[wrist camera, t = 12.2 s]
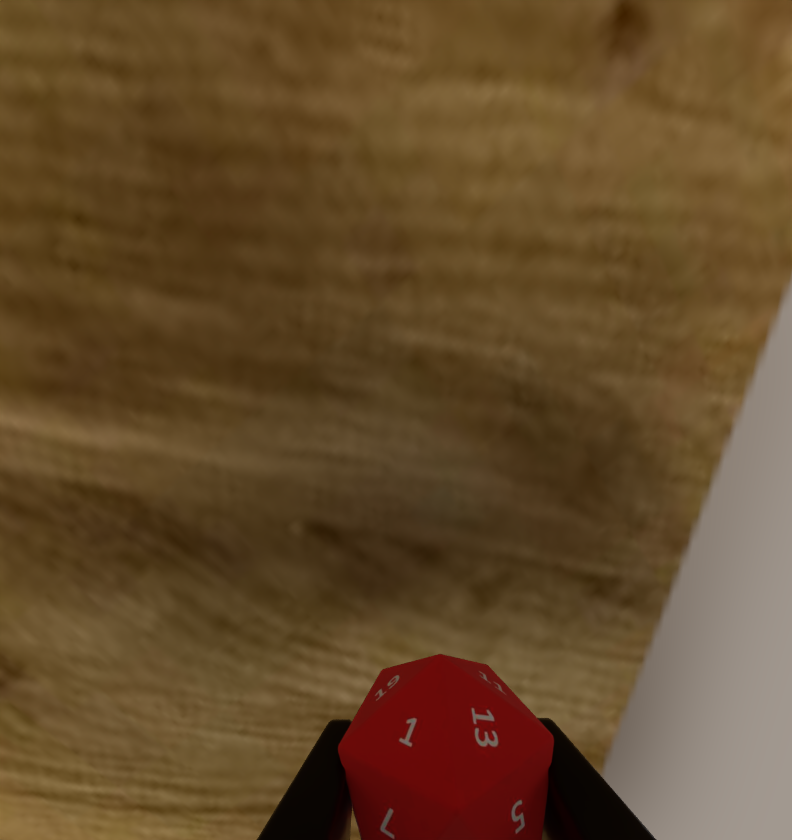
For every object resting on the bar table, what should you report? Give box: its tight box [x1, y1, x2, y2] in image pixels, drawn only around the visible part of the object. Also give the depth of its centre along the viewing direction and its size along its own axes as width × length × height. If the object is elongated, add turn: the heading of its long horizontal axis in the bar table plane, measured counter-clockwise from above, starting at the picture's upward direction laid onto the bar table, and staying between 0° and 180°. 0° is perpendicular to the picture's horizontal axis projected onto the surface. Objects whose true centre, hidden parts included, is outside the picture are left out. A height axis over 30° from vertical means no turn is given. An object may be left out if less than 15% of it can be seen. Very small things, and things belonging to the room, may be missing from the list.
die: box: [338, 654, 554, 840], centre depth 8 cm, size 4×3×4 cm
